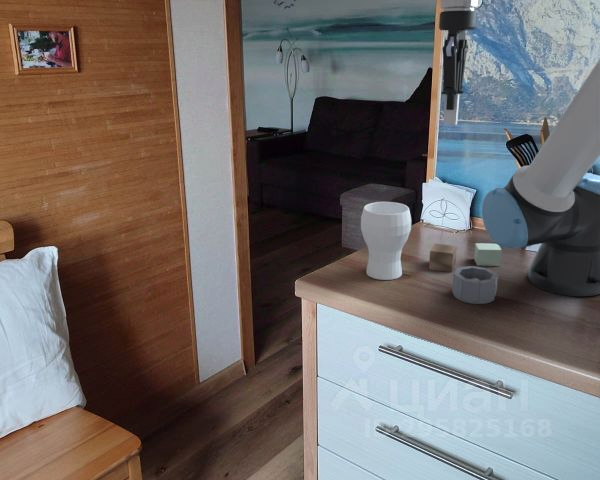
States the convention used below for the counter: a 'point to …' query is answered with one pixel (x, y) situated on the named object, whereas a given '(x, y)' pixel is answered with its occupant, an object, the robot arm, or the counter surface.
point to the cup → (385, 237)
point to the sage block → (487, 254)
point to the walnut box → (442, 257)
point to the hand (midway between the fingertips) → (450, 124)
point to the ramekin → (475, 285)
